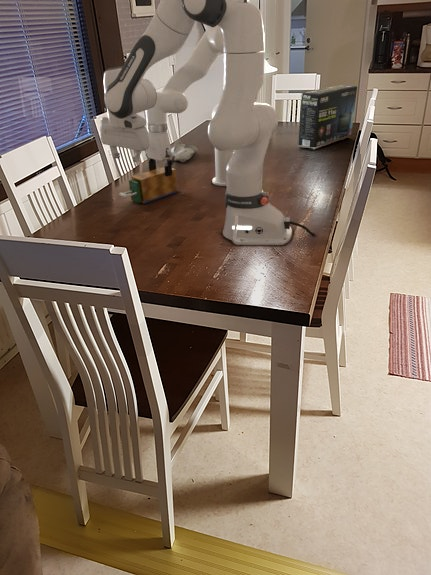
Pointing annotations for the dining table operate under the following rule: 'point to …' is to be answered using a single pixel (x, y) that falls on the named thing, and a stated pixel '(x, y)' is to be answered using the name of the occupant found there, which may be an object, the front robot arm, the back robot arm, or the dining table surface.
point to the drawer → (134, 191)
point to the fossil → (183, 152)
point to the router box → (326, 115)
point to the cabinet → (156, 184)
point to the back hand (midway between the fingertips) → (160, 173)
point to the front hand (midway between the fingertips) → (126, 159)
